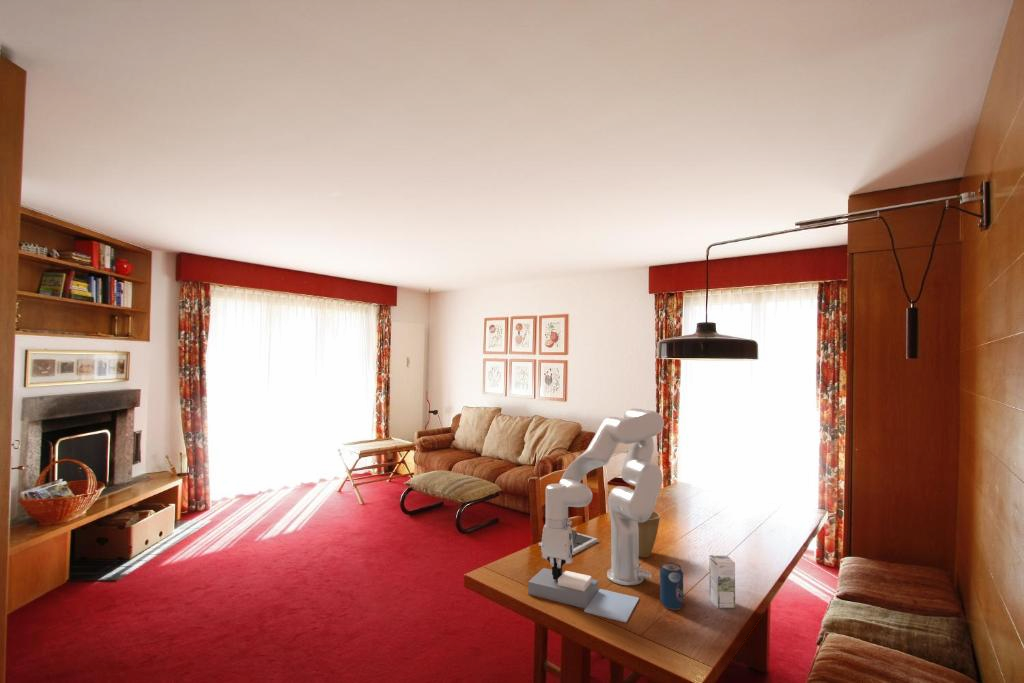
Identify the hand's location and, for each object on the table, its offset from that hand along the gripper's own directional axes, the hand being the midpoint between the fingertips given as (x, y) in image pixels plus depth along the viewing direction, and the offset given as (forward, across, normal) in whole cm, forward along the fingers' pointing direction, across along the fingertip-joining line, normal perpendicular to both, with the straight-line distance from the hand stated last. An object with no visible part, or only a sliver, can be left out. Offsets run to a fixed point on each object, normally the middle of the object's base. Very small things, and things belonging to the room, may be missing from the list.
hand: (557, 578), depth 158 cm
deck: (+4, -2, 0) cm, 5 cm away
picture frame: (+6, +12, -41) cm, 43 cm away
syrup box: (+5, -49, -17) cm, 52 cm away
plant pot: (+5, -17, -45) cm, 48 cm away
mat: (+4, -19, 0) cm, 19 cm away
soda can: (+5, -35, -9) cm, 37 cm away
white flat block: (0, -6, 0) cm, 6 cm away
